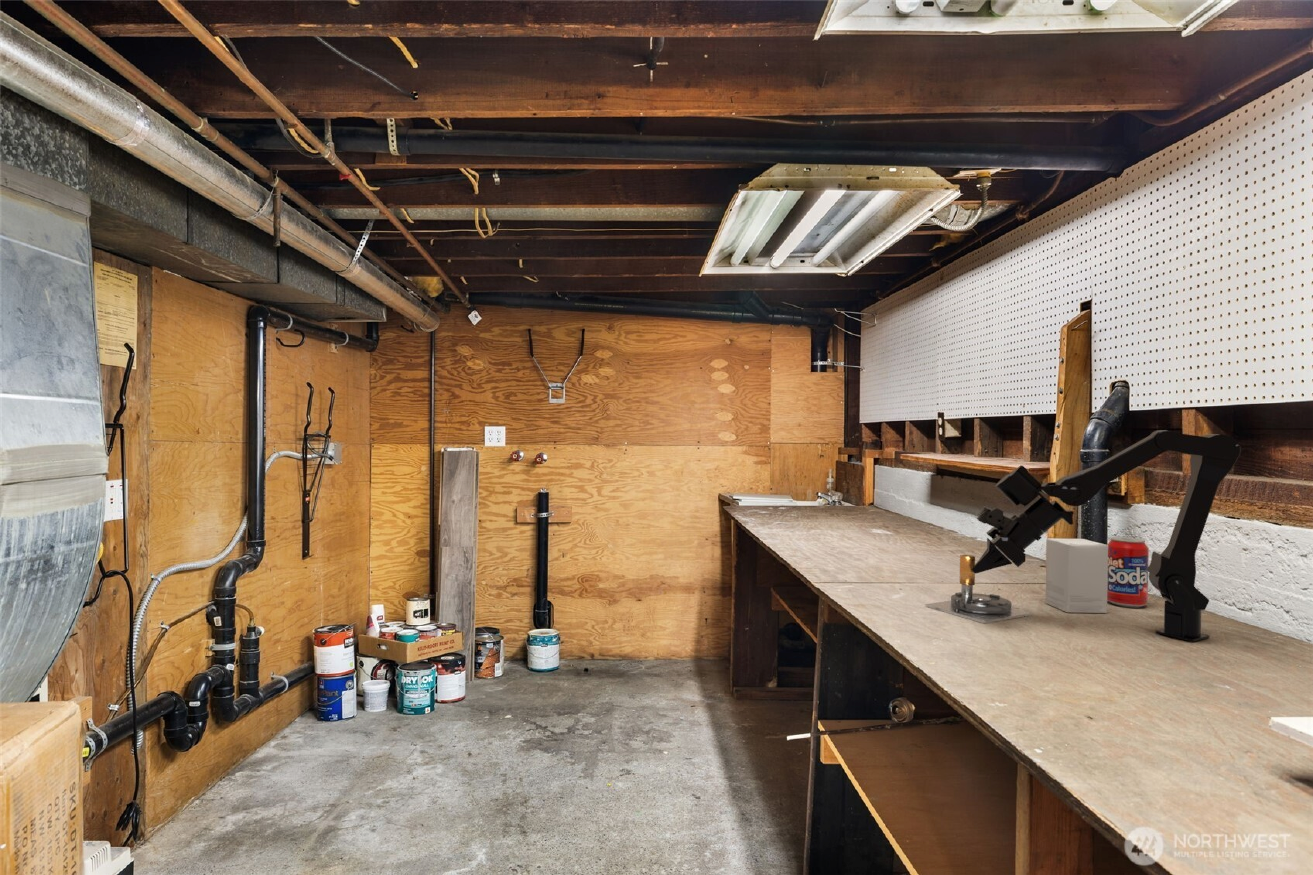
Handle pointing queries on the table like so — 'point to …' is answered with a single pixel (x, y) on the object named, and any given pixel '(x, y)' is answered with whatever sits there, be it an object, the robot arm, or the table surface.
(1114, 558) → the soda can
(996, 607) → the metal joystick
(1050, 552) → the supplement box
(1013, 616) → the flange plate
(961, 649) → the table surface
